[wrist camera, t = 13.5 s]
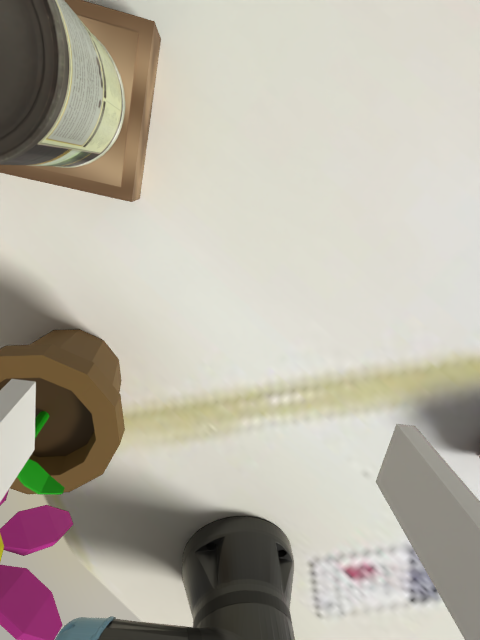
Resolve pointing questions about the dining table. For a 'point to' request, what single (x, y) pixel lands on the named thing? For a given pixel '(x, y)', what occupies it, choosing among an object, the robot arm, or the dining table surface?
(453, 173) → the dining table surface
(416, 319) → the dining table surface
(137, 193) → the walnut base
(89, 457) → the flowerpot
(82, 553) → the dining table surface
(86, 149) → the coffee can
